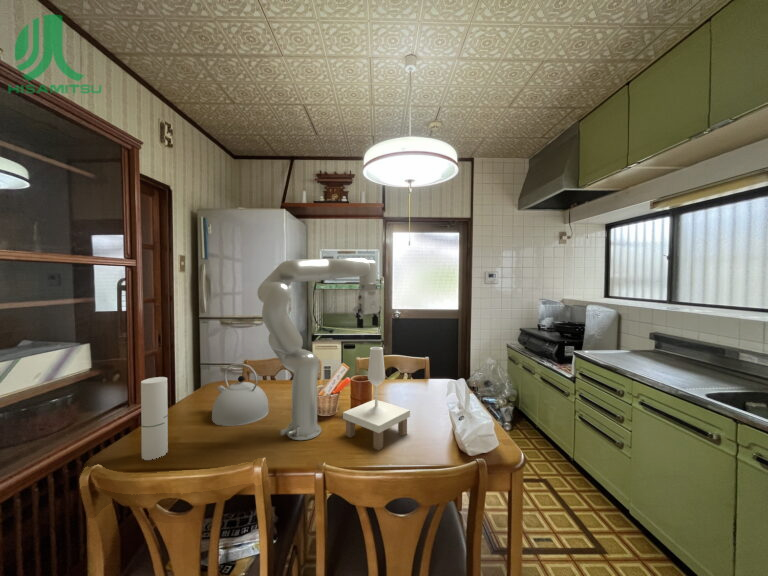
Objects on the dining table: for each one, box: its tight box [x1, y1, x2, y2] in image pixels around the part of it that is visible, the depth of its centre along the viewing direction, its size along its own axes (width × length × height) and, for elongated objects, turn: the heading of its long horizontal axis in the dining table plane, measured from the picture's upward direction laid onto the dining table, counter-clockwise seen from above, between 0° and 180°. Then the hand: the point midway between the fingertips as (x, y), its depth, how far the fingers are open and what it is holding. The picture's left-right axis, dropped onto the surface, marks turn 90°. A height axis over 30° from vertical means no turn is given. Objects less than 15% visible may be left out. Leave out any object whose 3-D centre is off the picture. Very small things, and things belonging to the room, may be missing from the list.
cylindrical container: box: [140, 376, 169, 461], centre depth 108 cm, size 7×7×25 cm
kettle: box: [211, 362, 270, 427], centre depth 141 cm, size 25×23×22 cm
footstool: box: [342, 398, 411, 451], centre depth 122 cm, size 18×18×9 cm
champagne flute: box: [367, 346, 386, 415], centre depth 122 cm, size 7×7×24 cm
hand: (367, 326), depth 143 cm, fingers open, 9 cm apart
